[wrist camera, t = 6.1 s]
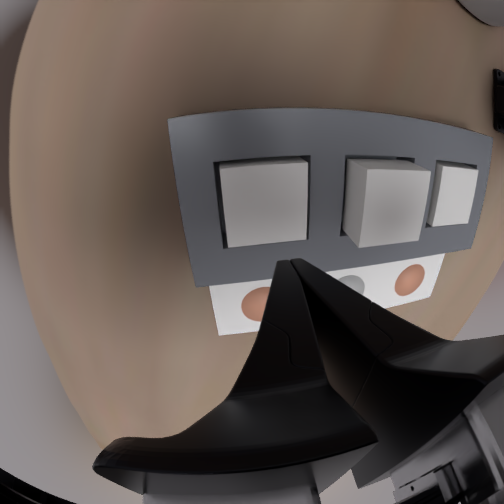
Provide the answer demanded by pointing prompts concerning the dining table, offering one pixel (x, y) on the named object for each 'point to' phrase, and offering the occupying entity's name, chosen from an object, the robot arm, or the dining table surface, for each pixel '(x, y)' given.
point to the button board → (311, 183)
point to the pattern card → (360, 279)
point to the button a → (264, 199)
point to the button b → (452, 193)
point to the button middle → (384, 201)
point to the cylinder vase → (486, 10)
